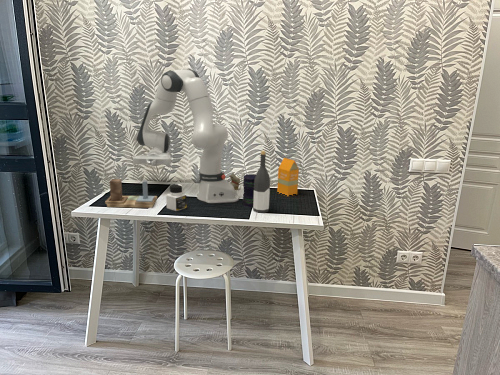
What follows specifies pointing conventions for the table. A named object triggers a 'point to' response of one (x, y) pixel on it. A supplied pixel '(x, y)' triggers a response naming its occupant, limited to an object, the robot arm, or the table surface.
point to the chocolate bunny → (234, 181)
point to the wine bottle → (261, 187)
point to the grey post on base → (145, 194)
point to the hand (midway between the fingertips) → (149, 163)
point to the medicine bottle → (176, 198)
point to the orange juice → (288, 177)
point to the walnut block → (116, 190)
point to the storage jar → (248, 190)
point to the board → (130, 202)
